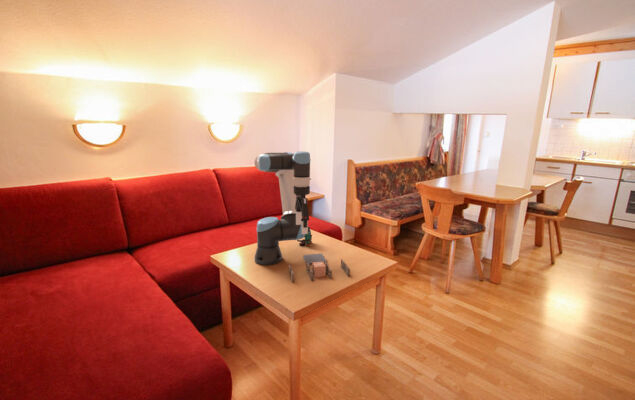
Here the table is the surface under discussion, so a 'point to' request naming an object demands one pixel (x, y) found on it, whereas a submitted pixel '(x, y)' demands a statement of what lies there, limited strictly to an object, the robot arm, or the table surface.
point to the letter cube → (318, 269)
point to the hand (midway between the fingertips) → (301, 228)
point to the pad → (314, 258)
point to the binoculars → (306, 239)
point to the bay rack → (328, 270)
